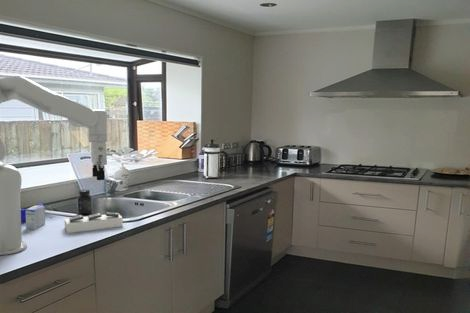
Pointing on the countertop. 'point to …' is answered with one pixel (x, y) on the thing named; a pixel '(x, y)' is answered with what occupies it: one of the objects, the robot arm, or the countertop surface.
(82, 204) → the supplement bottle
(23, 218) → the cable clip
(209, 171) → the coffee press
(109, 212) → the rocker outer
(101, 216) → the rocker middle
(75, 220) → the rocker inner
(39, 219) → the medicine box
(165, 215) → the countertop surface
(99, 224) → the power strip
